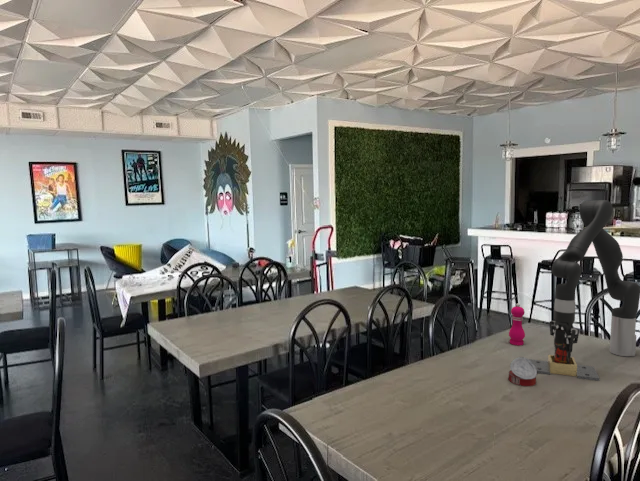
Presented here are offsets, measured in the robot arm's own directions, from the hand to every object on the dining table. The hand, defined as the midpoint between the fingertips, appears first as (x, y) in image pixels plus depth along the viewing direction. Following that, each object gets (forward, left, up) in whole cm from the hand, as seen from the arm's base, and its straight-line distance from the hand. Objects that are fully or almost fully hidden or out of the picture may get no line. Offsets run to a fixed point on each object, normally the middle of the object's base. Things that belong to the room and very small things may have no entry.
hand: (562, 349), depth 188 cm
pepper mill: (+17, -30, -9) cm, 35 cm away
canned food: (+16, +17, -9) cm, 25 cm away
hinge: (0, 0, -9) cm, 9 cm away
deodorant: (0, 0, -7) cm, 7 cm away
